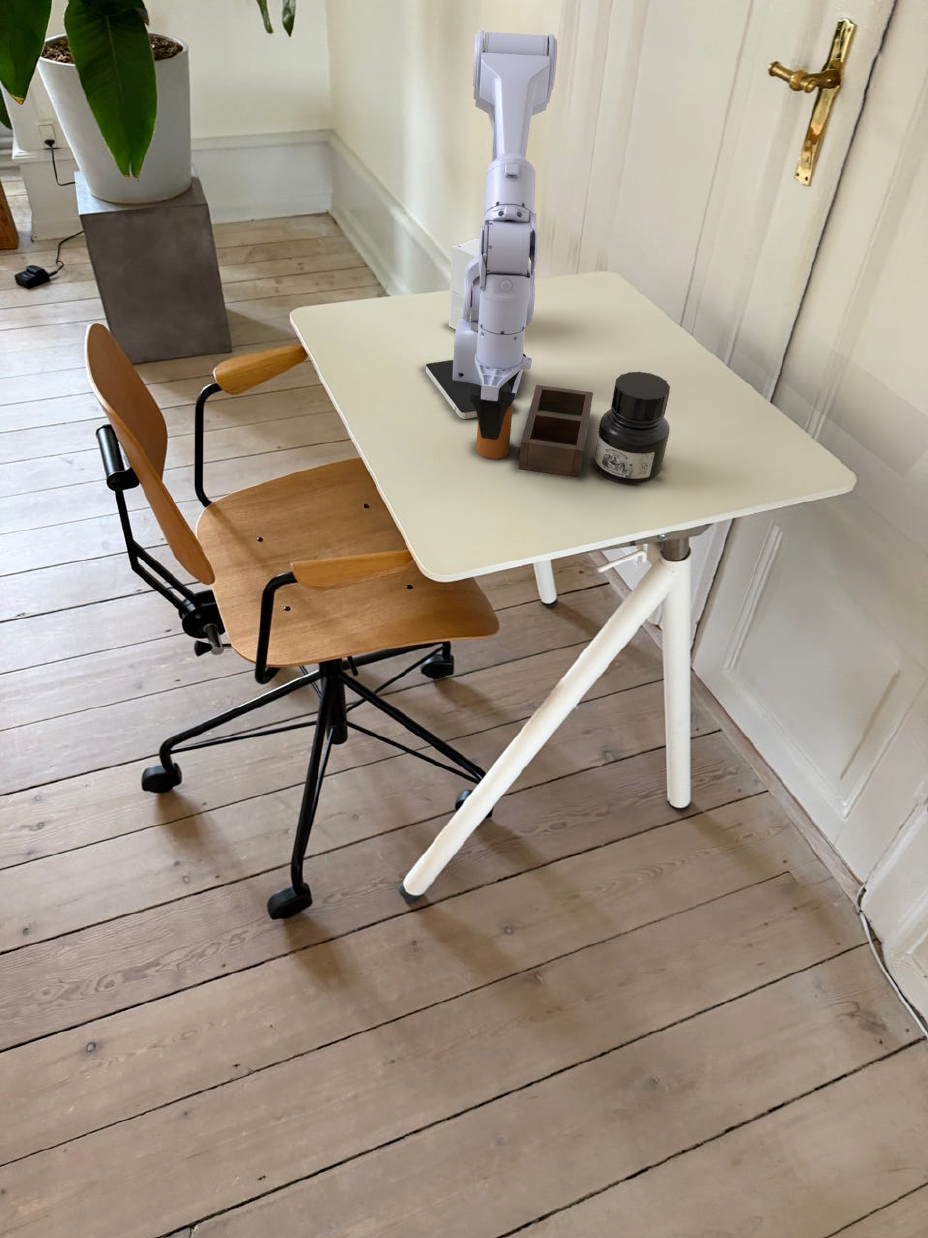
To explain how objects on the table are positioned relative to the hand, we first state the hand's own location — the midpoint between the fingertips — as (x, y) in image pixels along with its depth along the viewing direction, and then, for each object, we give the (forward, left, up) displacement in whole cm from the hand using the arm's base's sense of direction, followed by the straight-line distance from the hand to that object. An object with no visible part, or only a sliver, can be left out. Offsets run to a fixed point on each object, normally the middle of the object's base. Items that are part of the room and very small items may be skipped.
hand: (494, 422), depth 121 cm
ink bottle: (+18, +1, -5) cm, 18 cm away
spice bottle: (0, 0, -4) cm, 4 cm away
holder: (+8, +4, -4) cm, 10 cm away
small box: (-8, +35, -5) cm, 36 cm away
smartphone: (-6, +15, -5) cm, 17 cm away
